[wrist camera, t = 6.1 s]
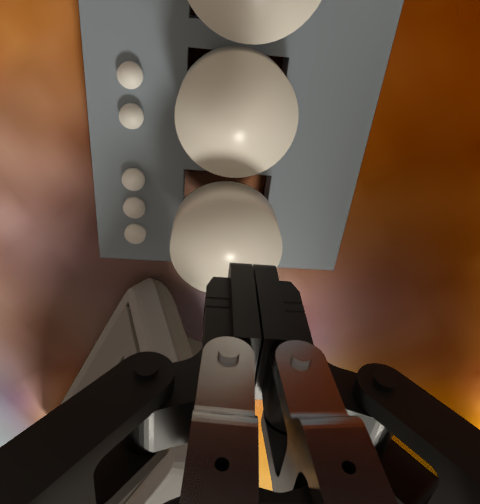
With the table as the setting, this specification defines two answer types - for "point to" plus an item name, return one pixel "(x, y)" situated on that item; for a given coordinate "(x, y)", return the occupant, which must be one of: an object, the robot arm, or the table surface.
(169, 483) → the digital clock
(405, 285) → the table surface
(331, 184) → the button board
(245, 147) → the button
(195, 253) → the button
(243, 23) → the button
